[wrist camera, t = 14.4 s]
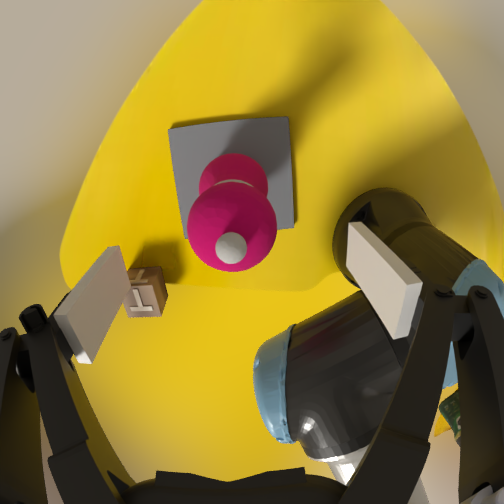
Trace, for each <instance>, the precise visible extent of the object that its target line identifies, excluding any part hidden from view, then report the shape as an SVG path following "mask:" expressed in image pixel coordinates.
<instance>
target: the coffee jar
mask: <svg viewBox="0 0 504 504" xmlns="http://www.w3.org/2000/svg"><path fill="white" fill-rule="evenodd" d="M439 410H440V412H441V414H442V415H443V417H444V418H445V419H446V421H447V422H448V424H449V425H450V427H451V428H452V430H453V432H454V437H455V441H456V442H457V444H458V445H459V446H460V447H461V425H460V402H459V390H458V391H456V392H455V393H453V394H452V395H450V396H449V397H448V398H446V399H445V400H444V401H442V402H441V404H440V405H439Z"/></svg>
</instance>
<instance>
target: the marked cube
mask: <svg viewBox="0 0 504 504" xmlns="http://www.w3.org/2000/svg"><path fill="white" fill-rule="evenodd" d="M127 274H128V278H129V281H130V284H131V288H130V289H129V291H128V293H127V295H126V297H125V299H124V301H123V304H124V307H125V309H126V312H127V315H128V317H160V316H162V313H163V310H164V307H165V304H166V301H167V297H168V293H167V290H166V285H165V282H164V278H163V274H162V270H161V266H159V267H146V268H134V269H128V271H127Z"/></svg>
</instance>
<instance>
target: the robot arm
mask: <svg viewBox="0 0 504 504" xmlns="http://www.w3.org/2000/svg"><path fill="white" fill-rule="evenodd" d="M332 248H333V255H334V259H335V262H336V264H337V266H338V268H339V269H340V271H341V272H342V274H343V275H344V277H345V278H346V279H347V280H348V281H349V282H350V283H351V284H353V285H354V286H356V287H358V288H360V289H361V290H360V291H357V292H356V293H354V294H352V295H350V296H349V297H347V298H345V299H343V300H341V301H340V302H338V303H336V304H334V305H332V306H330V307H328V308H327V309H325V310H323V311H321V312H319V313H317V314H315V315H313V316H312V317H310V318H308V319H306V320H304V321H302V322H300V323H298V324H293V325H291V326H289V327H288V329H287V330H285V331H283V332H282V333H280V334H278V335H276V336H274V337H273V338H271V339H269V340H267V341H266V342H264V343H263V344H262V345H261V346H260V348H259V349H258V351H257V354H256V356H255V360H254V368H253V371H254V373H253V381H254V382H253V383H254V391H255V396H256V400H257V405H258V408H259V411H260V414H261V417H262V419H263V422H264V424H265V426H266V427H267V429H268V431H269V432H270V433H271V435H272V436H273V437H275V438H276V440H277V441H279V442H280V443H290V444H293V443H295V442H296V441H299V442H300V444H301V446H302V447H303V449H304V451H305V453H306V455H307V456H308V457H309V458H310V459H312V460H315V461H321V462H326V463H328V465H329V467H330V469H331V471H332V473H333V475H334V477H335V478H336V480H337V481H336V480H333V479H330V478H326V477H322V476H318V475H308V474H305V469H304V467H300V468H294V469H286V470H278V471H267V472H264V473H261V474H257V475H254V476H250V477H247V478H243V479H239V480H235V481H231V482H225V481H219V480H216V479H211V478H206V477H202V476H199V475H195V474H191V473H178V472H166V471H156V478H155V479H150V480H146V481H142V482H140V483H135V481H134V480H133V479H132V478H131V477H130V476H129V474H128V473H127V471H126V470H125V468H124V466H123V465H122V463H121V461H120V460H119V458H118V457H117V455H116V453H115V451H114V450H113V448H112V446H111V444H110V442H109V441H108V439H107V437H106V435H105V433H104V431H103V429H102V428H101V426H100V424H99V422H98V419H97V417H96V415H95V413H94V411H93V409H92V407H91V405H90V403H89V400H88V398H87V396H86V394H85V391H84V389H83V387H82V384H81V382H80V379H79V377H78V374H77V371H76V369H75V366H74V364H73V362H72V361H71V357H72V356H73V354H74V355H75V357H76V358H77V360H78V362H79V363H88V364H92V363H93V361H94V358H95V356H96V354H97V352H98V350H99V348H100V346H101V344H102V342H103V340H104V338H105V336H106V334H107V332H108V329H109V327H110V326H111V323H112V321H113V320H114V318H115V316H116V314H117V312H118V310H119V308H120V306H121V304H122V302H123V301H124V299H125V297H126V295H127V293H128V291H129V289H130V288H131V284H130V281H129V278H128V274H127V271H126V268H125V264H124V261H123V258H122V254H121V251H120V247H119V246H112V247H108V248H107V249H106V250H105V251H104V252H103V253H102V255H101V256H100V257H99V258H98V259H97V260H96V261H95V263H94V264H93V265H92V266H91V267H90V269H89V270H88V271H87V272H86V273H85V275H84V276H83V277H82V278H81V280H80V281H79V282H78V283H77V284H76V286H75V287H74V288H73V289H72V290H71V291H70V292H69V293H67V294H66V295H65V296H64V298H63V299H62V300H61V302H60V303H59V304H58V307H56V308H55V310H54V311H53V312H52V313H51V315H50V316H49V318H47V316H46V313H45V311H44V310H43V307H42V306H41V305H40V304H34V305H31V306H30V307H27V308H26V309H25V310H24V311H22V312H21V314H20V316H19V319H20V321H21V323H22V325H23V327H24V329H25V331H26V332H27V334H23V335H19V334H18V332H17V330H16V329H15V328H14V327H11V328H7V329H4V330H3V331H1V333H0V504H48V500H47V494H46V487H45V480H44V473H43V464H42V453H41V435H40V412H41V416H42V419H43V423H44V427H45V430H46V434H47V437H48V440H49V443H50V446H51V449H52V452H53V455H52V456H50V457H49V458H48V464H49V468H50V471H51V473H52V476H53V478H54V481H55V483H56V486H57V488H58V491H59V493H60V495H61V498H62V500H63V502H64V504H429V501H428V498H427V495H426V492H425V490H424V487H423V484H422V481H421V479H420V474H421V472H422V470H423V467H424V464H425V462H426V459H427V456H428V454H429V450H430V443H429V442H428V438H429V434H430V432H431V428H432V425H433V422H434V418H435V415H436V412H437V408H438V404H439V400H440V396H441V392H442V389H444V388H446V387H447V386H452V385H454V384H456V383H457V382H458V389H459V402H460V425H461V448H460V450H461V451H460V471H459V488H458V492H459V504H504V283H503V282H502V280H501V279H500V278H499V277H498V276H497V275H496V274H495V273H494V272H493V271H492V270H491V269H490V268H489V267H488V266H487V264H486V263H485V261H483V260H481V259H478V258H477V257H476V256H474V255H473V254H472V253H470V252H469V251H468V250H466V249H465V248H464V247H462V246H461V245H460V244H458V243H457V242H455V241H454V240H453V239H451V238H450V237H448V236H447V235H446V234H444V233H443V232H441V231H440V230H438V229H437V228H435V227H434V226H433V225H432V224H431V222H430V221H429V219H428V218H427V216H426V213H425V212H424V210H423V208H422V207H421V205H420V204H419V203H418V202H417V201H416V200H415V199H414V198H412V197H411V196H409V195H407V194H405V193H404V192H402V191H399V190H397V189H393V188H378V189H374V190H370V191H368V192H366V193H364V194H362V195H360V196H359V197H358V198H356V199H355V200H354V201H353V202H352V203H351V204H350V205H349V206H348V207H347V208H346V209H345V210H344V212H343V213H342V215H341V217H340V218H339V220H338V222H337V225H336V228H335V231H334V235H333V243H332Z"/></svg>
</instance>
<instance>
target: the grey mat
mask: <svg viewBox="0 0 504 504" xmlns="http://www.w3.org/2000/svg"><path fill="white" fill-rule="evenodd" d="M168 134H169V142H170V150H171V157H172V164H173V171H174V177H175V184H176V190H177V196H178V202H179V208H180V214H181V220H182V225H183V231H184V236H185V239H188V234H187V221H188V215H189V212H190V209H191V207H192V205H193V203H194V202H195V200H196V199H197V198H198V197H199V182H200V177H201V175H202V172H203V171H204V169H205V167H206V166H207V165H208V164H209V163H210V162H211V161H212V160H214V159H215V158H217V157H219V156H221V155H225V154H230V153H237V154H243V155H246V156H248V157H250V158H252V159H254V160H255V161H256V162H257V163H259V165H260V166H261V167H262V168H263V170H264V172H265V174H266V177H267V181H268V195H267V199H268V200H269V202H270V203H271V205H272V207H273V209H274V212H275V214H276V220H277V229H288V228H294V211H293V187H292V166H291V149H290V133H289V119H288V117H270V118H255V119H243V120H232V121H223V122H214V123H206V124H199V125H192V126H186V127H179V128H174V129H168Z"/></svg>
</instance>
